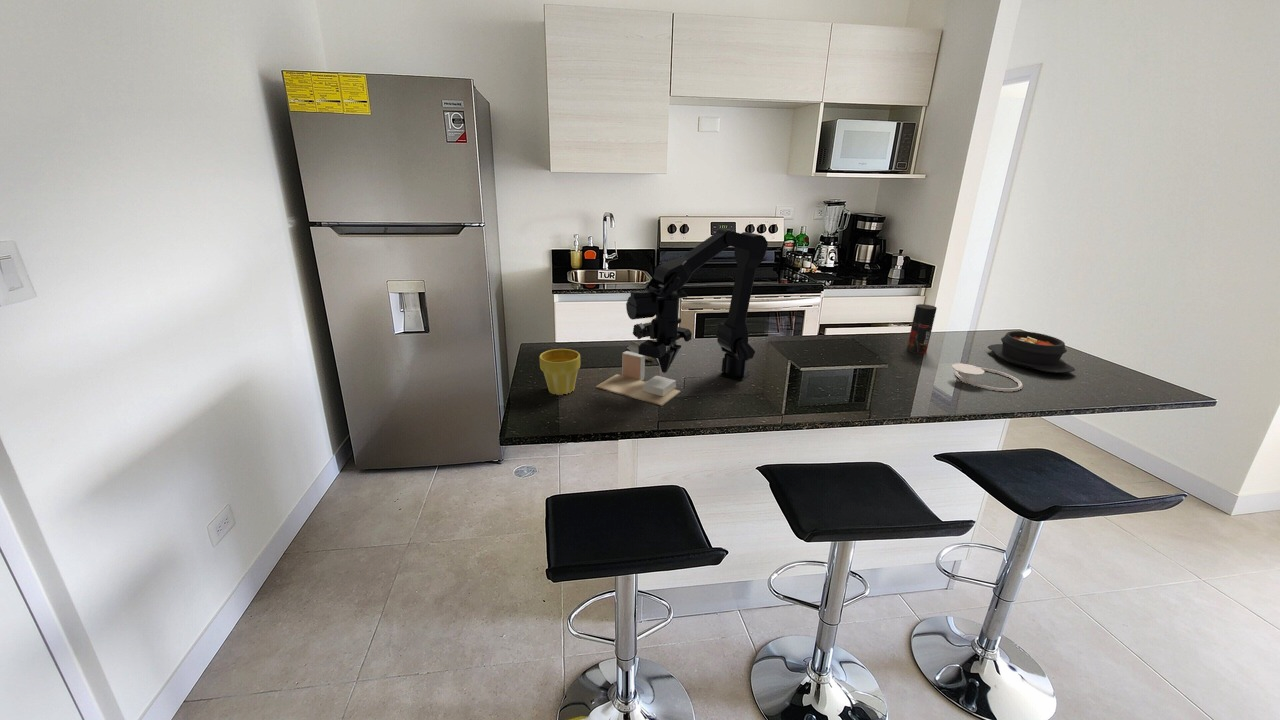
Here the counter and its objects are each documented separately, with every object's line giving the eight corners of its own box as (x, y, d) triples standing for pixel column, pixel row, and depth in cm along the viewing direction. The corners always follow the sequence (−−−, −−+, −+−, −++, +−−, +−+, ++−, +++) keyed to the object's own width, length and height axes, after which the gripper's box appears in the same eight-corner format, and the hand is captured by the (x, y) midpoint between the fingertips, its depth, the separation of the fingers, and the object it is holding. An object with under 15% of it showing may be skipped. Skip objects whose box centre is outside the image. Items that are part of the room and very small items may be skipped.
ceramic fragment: (654, 362, 161) (654, 350, 160) (638, 365, 159) (639, 353, 157) (632, 349, 172) (632, 337, 171) (617, 351, 170) (618, 339, 169)
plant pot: (533, 388, 140) (531, 353, 137) (567, 379, 146) (566, 345, 143) (554, 402, 133) (553, 365, 129) (588, 391, 139) (588, 356, 135)
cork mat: (680, 392, 140) (680, 390, 140) (662, 406, 132) (662, 404, 132) (616, 375, 150) (616, 374, 150) (595, 387, 142) (595, 386, 142)
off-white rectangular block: (644, 378, 148) (645, 355, 146) (640, 381, 146) (640, 357, 144) (625, 374, 151) (626, 350, 149) (621, 376, 149) (622, 353, 147)
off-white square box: (675, 380, 141) (663, 389, 135) (675, 387, 142) (662, 397, 136) (656, 375, 144) (642, 384, 138) (655, 382, 145) (642, 391, 139)
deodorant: (911, 346, 181) (921, 303, 175) (929, 351, 176) (940, 307, 171) (903, 349, 177) (912, 305, 172) (921, 355, 173) (931, 310, 168)
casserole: (1089, 376, 159) (1099, 350, 156) (1038, 380, 155) (1047, 353, 152) (1017, 348, 182) (1024, 324, 179) (971, 351, 178) (977, 327, 175)
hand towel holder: (1042, 376, 147) (980, 381, 142) (1037, 391, 149) (975, 396, 144) (991, 355, 162) (933, 358, 158) (987, 368, 164) (930, 372, 159)
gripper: (657, 302, 147) (655, 355, 152) (620, 318, 132) (619, 376, 137) (694, 309, 142) (690, 364, 147) (659, 326, 126) (657, 386, 132)
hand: (664, 372), depth 141 cm, fingers closed
